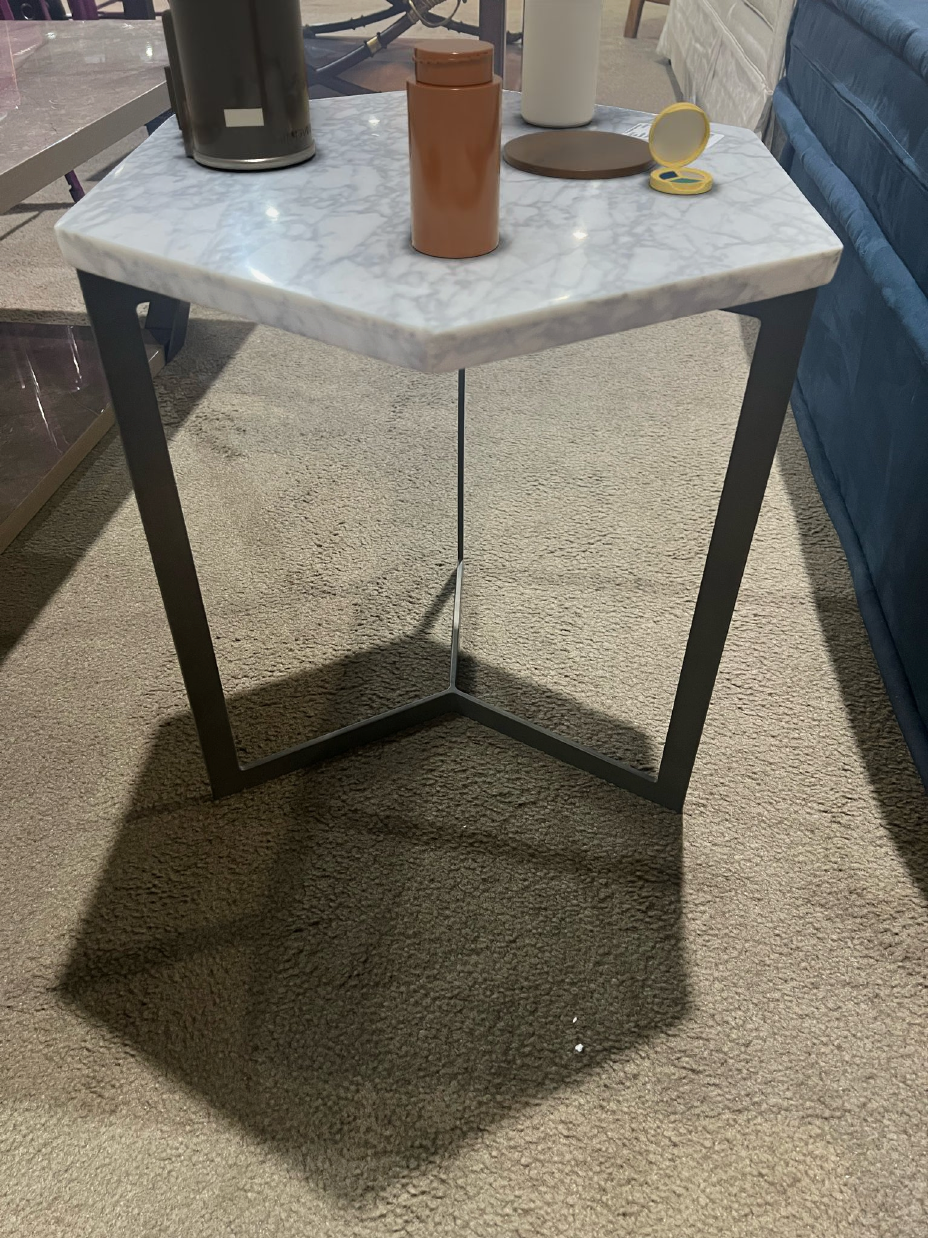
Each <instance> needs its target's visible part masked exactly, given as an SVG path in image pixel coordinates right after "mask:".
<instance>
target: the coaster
mask: <svg viewBox="0 0 928 1238" xmlns="http://www.w3.org/2000/svg"><path fill="white" fill-rule="evenodd" d="M502 154H503V159H504V161H505V162H506V163H507V164H509V165H510V166H512V167H513V168H516V169H519V170H521V171H524V172H528V173H531V174H535V175H540V176H546V177H551V178H552V177H553V178H562V179H576V180H577V179H578V180H594V179H595V180H597V179H598V180H599V179H612V178H620V177H625V176H626V177H627V176H631V175H635V174H636V175H637V174H639V173H642V172H646V171H648V170H649V169H651V168H652V167H654V166H655V165H656V163H657V162H656V161H655V160H654V158H653V157H652V155H651V152H650V149H649V141H646V140H643V139H641V138H638V137H635V136H631V135H627V134H623V133H616V132H609V131H602V130H601V131H600V130H587V129H586V130H585V129H584V130H583V129H560V130H559V129H558V130H546V131H537V132H532V133H527V134H524V135H520V136H517V137H514V138H512V139H510V140H509V141H507V142H506V143H505V144H504V145H503V153H502Z"/></svg>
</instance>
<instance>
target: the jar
mask: <svg viewBox="0 0 928 1238" xmlns="http://www.w3.org/2000/svg"><path fill="white" fill-rule="evenodd" d="M413 48H414V49H413V53H414V54H413V55H412V56H411V59H412V62H414V73H413V74H410V75H409V76H407V78H406V79H405V83H406V111H407V112H406V113H407V115H406V116H407V136H408V137H407V139H408V141H407V142H408V143H407V144H408V166H409V167H408V169H409V172H408V173H409V200H410V201H409V202H410V224H411V225H410V227H411V244H412V247H413V248H414V249H415V250H417V251H418V252H420V253H422V254H424V255H428V256H432V257H437V258H445V259H446V258H447V259H460V258H461V259H463V258H472V257H477V256H482V255H485V254H487V253H490V252H492V251H494V250H495V249H496V248H498V246H499V242H500V241H499V240H500V200H501V199H500V196H501V159H502V157H501V156H502V117H503V78H502V77H501V76H500V75H498V74H496V73H495V45H494V44H493V43H491V42H488V41H485V40H480V39H471V38H439V39H430V40H429V39H428V40H423V41H420V42H419V43H415V45H414V46H413Z"/></svg>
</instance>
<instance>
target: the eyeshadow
mask: <svg viewBox="0 0 928 1238" xmlns="http://www.w3.org/2000/svg"><path fill="white" fill-rule="evenodd" d="M710 135H711V123H710V121H709V118H708V116H707V113H705V112H704V110H703V109H701V108H700V107H699V106H698V105H696V104H694V103H691V102H684V101H683V102H676V103H674V104H670V105H669V106H667V107H665V108H663V110H661V112H659V113H658V114H657V116H656V117H655V118H654V120H653V121H652V123H651V126H650V128H649V132H648V141H647V142H648V143H649V149H650V152H651V155H652V157H653V158H654V160H655V161H656V163H657V164H658V165H660V166H662V168H656V169H655V170H653V171H652V172H650V178H649V186H650V187H651V188H652V189H654V190H656V191H658V192H662V193H666V194H671V195H672V194H673V195H674V194H675V195H698V194H703V193H707V192H708V191H710V190H711V189H712V185H713V180H714V176H713V174H711V173H710V172H708V171H707V170H706V171H705V170H702V169H698V168H693V167H686V166H688V165H690V164H692V163H693V162H694V161H696V160H697V159H698V158H699V157H700V156H701V155H702V154H703V152H704V151H705V149H706V147H707V146H708V143H709V140H710Z"/></svg>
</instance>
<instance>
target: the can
mask: <svg viewBox="0 0 928 1238" xmlns="http://www.w3.org/2000/svg"><path fill="white" fill-rule="evenodd" d="M523 11H524V12H523V13H524V15H523V38H522V39H523V43H522V67H521V68H522V70H521V97H520V98H521V100H520V101H521V103H520V115H521V117H522V118H523V120H524V122H526V123H527V124H528V125H529V124H530V125H532V126H536V127H540V128H541V127H542V128H551V129H552V128H553V129H554V128H555V129H556V128H557V129H565V128H566V129H567V128H576V127H582V126H586V125H588V124H589V123H590V122H591V120H592V119H593V118H594V115H595V108H596V97H597V86H598V85H597V84H598V73H599V61H600V49H601V37H602V26H603V25H602V24H603V13H604V12H603V11H604V0H524V10H523Z"/></svg>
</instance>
